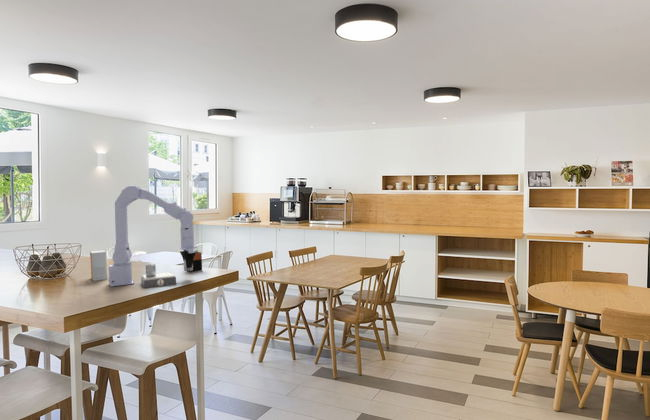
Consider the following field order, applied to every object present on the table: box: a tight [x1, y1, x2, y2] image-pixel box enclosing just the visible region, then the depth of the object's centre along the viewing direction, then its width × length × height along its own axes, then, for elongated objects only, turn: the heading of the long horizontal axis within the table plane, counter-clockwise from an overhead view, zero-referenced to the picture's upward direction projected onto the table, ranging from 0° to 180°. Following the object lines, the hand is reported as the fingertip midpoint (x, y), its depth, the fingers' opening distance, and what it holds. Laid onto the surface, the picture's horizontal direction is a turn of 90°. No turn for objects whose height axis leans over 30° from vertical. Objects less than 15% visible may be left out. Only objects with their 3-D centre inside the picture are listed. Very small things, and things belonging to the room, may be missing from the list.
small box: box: [89, 249, 108, 282], centre depth 211 cm, size 8×6×13 cm
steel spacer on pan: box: [145, 263, 157, 277], centre depth 195 cm, size 4×4×5 cm
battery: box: [189, 250, 203, 273], centre depth 226 cm, size 4×7×10 cm, turn 141°
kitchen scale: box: [140, 272, 177, 289], centre depth 196 cm, size 13×12×4 cm
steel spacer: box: [183, 259, 193, 272], centre depth 205 cm, size 4×4×5 cm
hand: (188, 267), depth 205 cm, fingers closed on steel spacer, 4 cm apart
